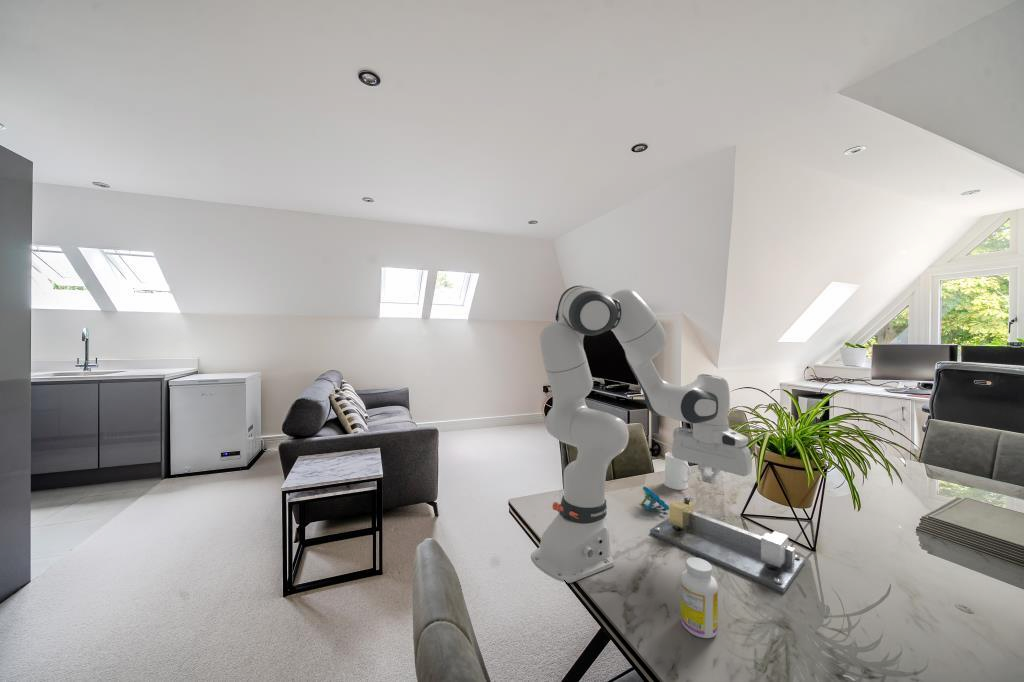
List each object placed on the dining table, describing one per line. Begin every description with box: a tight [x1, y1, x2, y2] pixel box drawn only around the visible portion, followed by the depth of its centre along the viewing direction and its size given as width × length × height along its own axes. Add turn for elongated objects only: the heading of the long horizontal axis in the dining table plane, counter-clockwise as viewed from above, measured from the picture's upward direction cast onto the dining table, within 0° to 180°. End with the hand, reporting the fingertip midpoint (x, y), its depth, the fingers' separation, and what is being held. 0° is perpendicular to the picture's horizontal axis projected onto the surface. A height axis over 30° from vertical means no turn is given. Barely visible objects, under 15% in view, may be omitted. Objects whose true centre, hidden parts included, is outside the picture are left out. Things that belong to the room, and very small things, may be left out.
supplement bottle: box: [680, 556, 719, 639], centre depth 75 cm, size 7×7×13 cm
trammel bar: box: [687, 510, 796, 569], centre depth 103 cm, size 8×31×7 cm, turn 40°
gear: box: [641, 486, 669, 511], centre depth 126 cm, size 11×6×10 cm
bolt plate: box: [649, 517, 806, 594], centre depth 103 cm, size 18×33×2 cm, turn 40°
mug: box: [663, 451, 693, 491], centre depth 144 cm, size 12×8×12 cm
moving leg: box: [668, 497, 695, 529], centre depth 112 cm, size 8×4×7 cm, turn 130°
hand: (708, 482), depth 103 cm, fingers closed
